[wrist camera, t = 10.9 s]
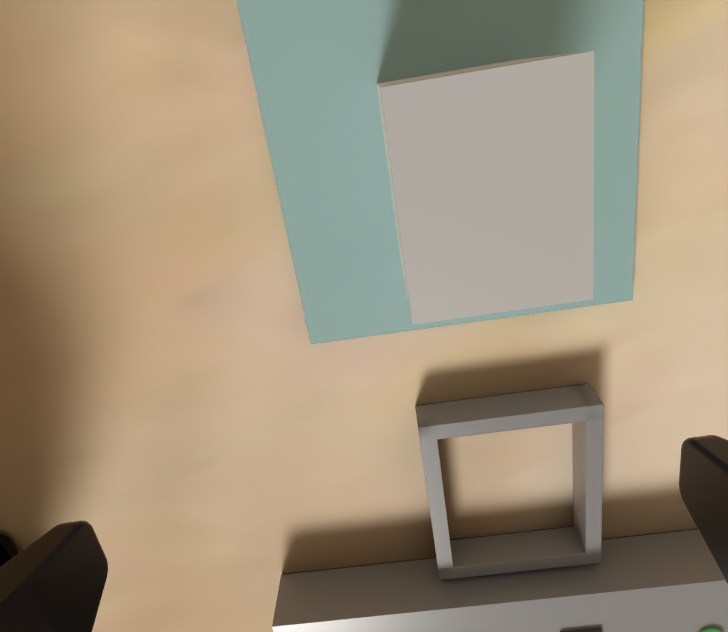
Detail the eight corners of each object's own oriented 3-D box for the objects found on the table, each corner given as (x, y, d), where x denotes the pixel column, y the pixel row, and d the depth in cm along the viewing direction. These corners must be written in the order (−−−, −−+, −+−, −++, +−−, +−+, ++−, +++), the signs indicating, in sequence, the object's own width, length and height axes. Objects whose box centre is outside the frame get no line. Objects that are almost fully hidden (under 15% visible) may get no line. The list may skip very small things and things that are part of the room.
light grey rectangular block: (399, 248, 18) (412, 324, 13) (376, 83, 16) (380, 87, 11) (523, 230, 18) (593, 299, 12) (515, 59, 16) (594, 50, 10)
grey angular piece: (308, 666, 27) (301, 726, 24) (238, 428, 21) (221, 474, 19) (739, 624, 25) (780, 683, 23) (781, 358, 20) (840, 399, 17)
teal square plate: (311, 339, 20) (310, 344, 19) (236, -13, 16) (233, -15, 15) (627, 295, 19) (632, 300, 19) (640, -87, 15) (646, -92, 14)
